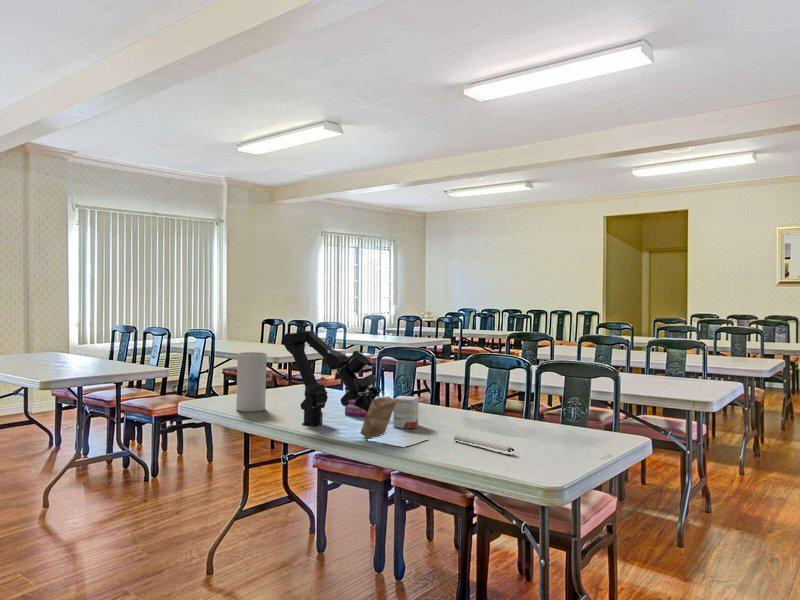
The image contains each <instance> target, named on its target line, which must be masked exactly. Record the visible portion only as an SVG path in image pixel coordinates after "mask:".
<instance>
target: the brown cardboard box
mask: <svg viewBox="0 0 800 600" xmlns="http://www.w3.org/2000/svg"><path fill="white" fill-rule="evenodd" d="M395 404H396V401H395V400H394V398H392V397H390V396H383V397H378V398H375V399H373V400H372V402H371V405H370V407H369V410H368V413H367V416H365V418H364V422H363V424H362V428H361V429H360V434H361V435H362V436H363V437H365V438H366V437H367V439H368V438H369V439H370V437H373V436H376V435H380V434H383V433H385V434H386V431H387V428H388V425H389V422H390V419H391V417H392V414H393V410H394V407H395ZM376 437H377V436H376Z"/></svg>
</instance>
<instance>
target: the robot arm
mask: <svg viewBox="0 0 800 600" xmlns="http://www.w3.org/2000/svg"><path fill="white" fill-rule="evenodd" d="M306 343H307V344H308V346H310V347H311V348H313V350H315V351H316V352H317V353H318V354H319V355H320V356H321V357H322V358H323V360H324V363H325V364H326V366H327V367H328V368H329V369H330V370H332V371H336V370H339V371H337V372H335V373H334V374H335V375H334V380H336V381H337V380H341V382H342V384H343V385H344V386H345V387H344V391H345V390H346V391H347V390H348V391H347V392H346V394H344V395H342V397H341V398H340V403H341V405H342V406H343V407H345V406H347V405H349V402H348V401H349V400H355V403H354V406H357V407H359V408H361V409H363V410H365V411H367V412H368V410H369V407H370V405H371V402H372V400H373V399H377V396H379V394H380V393H381V392H382V389H381V387H380V386H377V385H376V386H373V387H371V388H370V389H369V390H368V391H367V392H366V390H367V389H368V388H369V387H368V386H370V385H372V384H373V385H375V384H376V382H377V376H375V374H374V373H371V374H368V375H367V376H363V377H364V378H358V377H359V376H357V374H360V373H361V371H362V370H363V369H364V368H365V367H366V366H367V365H368V363H369V359H368V357H367V356H365V354H364V353H361V352H359V351H358V350H354V351H353V352H352V354H351V355H350V356H349V357H347V355H345V354H344V353H343V352H340V351H338V350H335V349H333V348H332V347H331V346H329V345H328V344H327V342H325V341H324V340H323V339H322V338H320V337H319V336H318V335H317V334H316V332H315V331H314V330H313V331H312V330H303V331H301V332H289V333H288V332H287V333H285V334H284V335H283V338H282V344H283V346H284V347H285V350H286V351H287V352H289V353H290V354H291V355H292V357H293V359H294V362H295V364H296V366H297V369H298V371H299V374H300V377H301V379H302V382H303V384H304V385H303V386H304V388H305V389H304V397H305V398H304V400H303V401H302V402H301V403H300V409H301V410H303V422H302V423H301V425H302V426H313V427H317V426H320V425H321V424H323V423H324V422H323V415H324V414H323V411H322V409H324V408H325V407H326V403H327V401H328V398H329V397H328V391H327V390H326V386H325V385H324V383H322V384H320V383H318V381H317V379H316V376H315V374H314V372H313V369H312V367H311V364H310V361H309V359H308V357H307V354H306V351H305V348H306Z"/></svg>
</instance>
